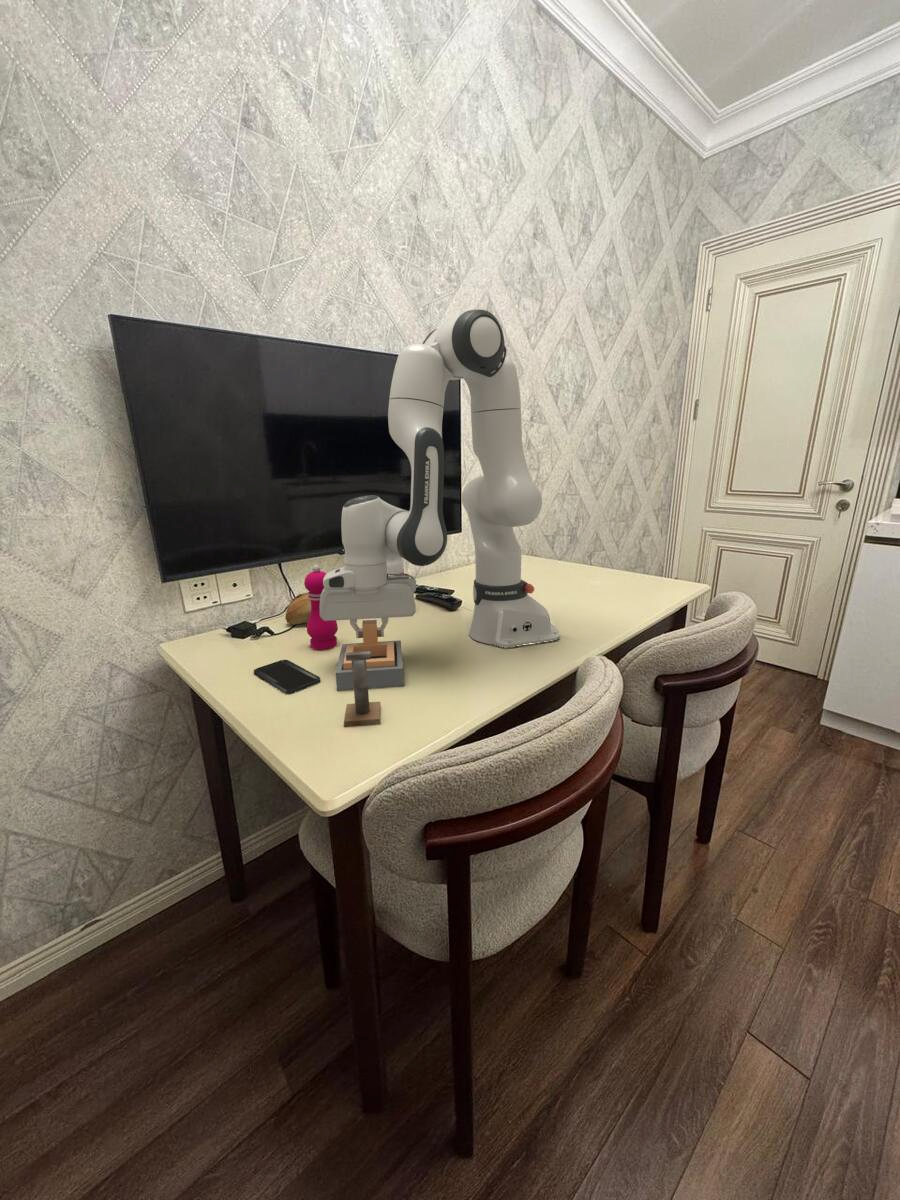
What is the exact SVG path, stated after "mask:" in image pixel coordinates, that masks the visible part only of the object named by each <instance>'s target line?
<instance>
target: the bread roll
mask: <svg viewBox="0 0 900 1200" xmlns="http://www.w3.org/2000/svg"><path fill="white" fill-rule="evenodd" d="M310 613H311V601H310V599H308V592H304V593H300V594H297V595H296V596H294V598H292V600H291V601H290V603H289V604H288V605H287V608H286V612H285V621H286V623H287V624H289V625H299V624H307V623H308V620H309V617H310Z"/></svg>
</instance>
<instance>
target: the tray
mask: <svg viewBox="0 0 900 1200" xmlns="http://www.w3.org/2000/svg"><path fill="white" fill-rule="evenodd" d="M381 642H394V660H395V667H384V668H369V669H367V681H368V689H377V688H380V689H381V688H391V687H392V688H393V687H404V685H405V684H404V683H405V682H404V665H403V653H402V641H401V640H400V639H399V640H389V641H388V640H387V641H386V640H385V641H378V643H381ZM347 644H348V643H342V644H341V648H340V653H339V657H338V661H337V665H336V669H335V681H336V691H339V692H340V691H347V690H348V691H351V690H352V691H354V685H353V673H352V670H344V668H343V662H344V657H345V652H346V647H347ZM349 644H363V642H352V643H349ZM375 658H387V656H371V659H375Z"/></svg>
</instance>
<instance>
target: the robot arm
mask: <svg viewBox="0 0 900 1200" xmlns="http://www.w3.org/2000/svg"><path fill="white" fill-rule="evenodd" d="M502 328H503V327H502V326H501V324H500V322H499V320H498V319H497V317H496V315H494V314H493V313H492V312H491V311H488V310H486V309H481V308H480V309H479V308H477V309H476V308H475V309H471V310H470V309H469V310H466V311H464V312H463V313H461V314H458V315H456V316H453V317H451V318H449V319H447V320H445V321H444V322H443V323H442V324H441V325H440V326H438V327H437V328H435V329H433V330H432V331H430V332H429V333H428V334H427V336H426V337H425V338H424V340H423V341H422V343H413V344H412V343H411V344H409V345H406V346H405V347H403V348H402V349H401V350H400V351H399V353H398V356H397V359H396V362H395V365H394V369H393V373H392V380H391V384H390V389H389V390H390V391H389V399H388V409H387V411H388V413H387V419H388V420H387V422H388V433H389V435H390V437H391V439H392V440H393V441H394V443H395V444H396V445H397V446H398V447H399V448H400V449H401V450H402V451H403V452H404V453H405V455H406V456H407V458H408V461H409V463H410V471H411V474H410V476H411V477H410V478H411V479H410V483H411V484H410V507H409V510H407V509H403V508H400V507H398V506H395V505H392V504H390V503H388V502H386V501H384V500H383V499H381V498H380V496H378V495H372V494H371V495H369V494H368V495H363V496H358V497H354V498H351V499H349V500H347V501H346V502H345V503H344V504H343V506H342V510H341V522H340V523H341V525H340V526H341V542H342V546H343V547H344V558H343V566H341V567H340V568H336V569H333V570H330V571H327V572H326V573H327V574H326V575H325V576H324V579H323V585H324V589H323V591H322V593H321V596H320V617H321V618H322V619H323V620H324V621H334V620H336V621H347V620H349V625H350V626H351V628H352V629H353V630H354V631H355V634H356V639H363V629H362V627H359V626H358V624H357V623H358V620H373V619H381V622H382V623H381V625H380V626H377V637H378V638H385V629H386V627H387V625H388V623H389V618H405V617H413V616H414V615H415V614H416V612H417V609H416V602H415V601H416V600H415V595H414V594H415V593H416V591H417V581H416V578H415V577H414V576H413V575H410V574H409V573H405V572H404V574H387V556H388V555H390V554H396V555H398V556H400V557H401V559H402V558H403V559H404V560H406V561H407V562H409V563H410V564H412V565H414V566H416V567H417V566H418V567H426V566H429V565H431V564H433V563H435V562H436V561H438V560H439V559H440V558H441V557H442V555H443V554H444V552H445V549H447V544H448V531H447V527H446V522H445V518H444V508H443V506H444V481H445V479H444V476H445V449H444V442H443V416H444V408H445V407H444V405H445V393H446V389H447V386H448V384H449V383H451V382H453V381H456V380H457V381H458V380H464V382H465V383H466V385H467V388H468V391H469V395H470V419H471V421H470V422H471V436H472V437H471V441H472V442H471V443H472V449H473V453H474V455H475V456H476V457H477V459H478V461H479V464H480V468H481V471H482V473H483V475H480V476H478V477H476V478H473V479H471V480H469V481H468V482H467V483H466V484H465V486H464V487H463V490H462V492H461V503H462V506H463V508H464V510H465V511H466V514H467V516H468V520H469V524H470V530H471V533H472V538H473V544H474V552H475V556H474V557H475V579H474V580H473V587H472V590H473V591H472V593H473V595H472V596H473V598H472V599H473V603H474V609H473V616H472V622H471V625H470V628H469V632H468V635H469V637H470V638H471V639H472V640H474V641H477V642H479V643H483V644H487V645H492V644H494V645H493V646H496V645H497V646H496V647H498V646H500V647H499V648H501V647H502V649H508V648H507V647H511V648H514V647H513V646H517V645H523V644H529V643H537V642H544V641H551V640H557V639H560V638H559V636H560V630H559V629H558V628H557V627H556V626H555V625H554V624H553V623H551V618H550V614H549V612H548V609H547V608H546V607H544V606H543V605H542V604H541V603H540V602H539V601H537V600H536V599H534V598H533V597H532V596H530V595H531V594H533V593H534V592H535V589H536V588H535V586H534V585H532V584H531V583H528V582H527V581H525V580H524V579H522V548H521V545H520V544H519V542H518V540H517V538H516V535H515V531H514V528H515V527H523V526H528V525H530V524H531V523H532V522H534V521H535V520H536V519H537V518H538V517H539V515H540V513H541V510H542V507H543V497H542V493H541V491H540V489H539V487H538V486H537V485H536V484H535V482H534V480H533V479H532V477H531V474H530V471H529V467H528V464H527V460H526V457H525V452H524V446H523V432H522V431H523V430H522V400H521V390H520V382H519V377H518V372H517V366H516V365H515V363H514V361H513V360H511V358H509V357H507V348H506V345H505V344H506V343H505V335H504V332H503V329H502ZM400 578H401V579H400ZM557 641H558V640H557ZM503 647H504V648H503Z"/></svg>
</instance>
